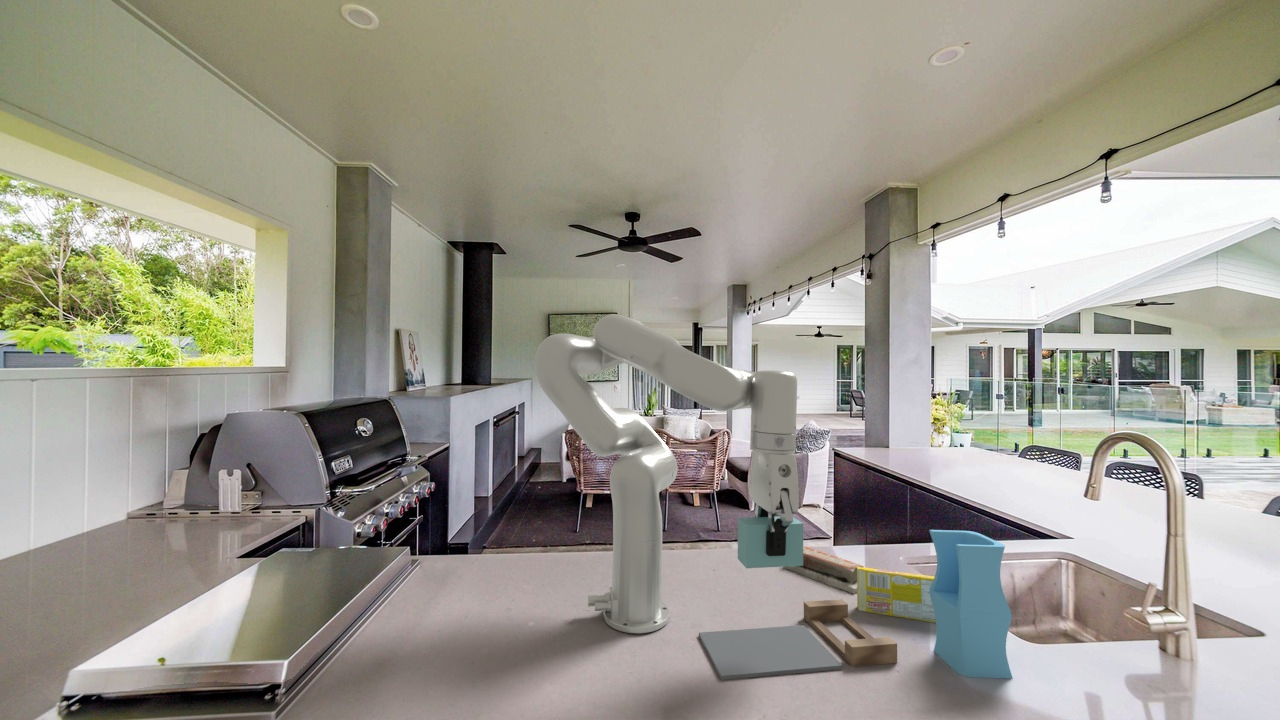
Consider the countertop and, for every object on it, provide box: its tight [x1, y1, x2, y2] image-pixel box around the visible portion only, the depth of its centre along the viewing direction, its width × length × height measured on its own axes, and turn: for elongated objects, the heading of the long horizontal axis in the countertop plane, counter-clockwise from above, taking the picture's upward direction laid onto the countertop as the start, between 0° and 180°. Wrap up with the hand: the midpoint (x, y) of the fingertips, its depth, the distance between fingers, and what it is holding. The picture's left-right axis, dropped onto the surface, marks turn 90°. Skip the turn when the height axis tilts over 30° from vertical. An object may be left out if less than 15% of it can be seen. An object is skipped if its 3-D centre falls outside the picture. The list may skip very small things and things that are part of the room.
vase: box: [929, 529, 1013, 680], centre depth 75 cm, size 8×8×20 cm
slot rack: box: [803, 598, 898, 668], centre depth 81 cm, size 8×15×3 cm, turn 9°
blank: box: [737, 516, 804, 569], centre depth 78 cm, size 4×10×7 cm, turn 98°
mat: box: [698, 624, 843, 681], centre depth 76 cm, size 20×12×1 cm, turn 99°
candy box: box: [856, 566, 937, 624], centre depth 89 cm, size 16×2×8 cm, turn 71°
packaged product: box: [783, 545, 864, 595], centre depth 108 cm, size 18×5×10 cm
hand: (769, 548), depth 78 cm, fingers closed on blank, 4 cm apart
